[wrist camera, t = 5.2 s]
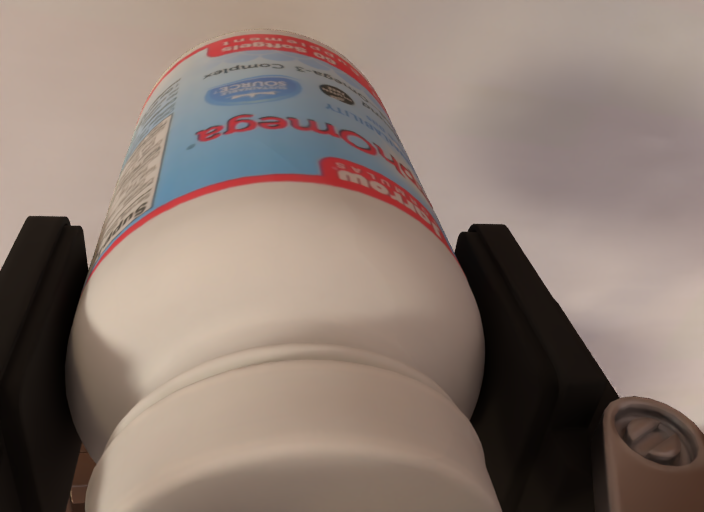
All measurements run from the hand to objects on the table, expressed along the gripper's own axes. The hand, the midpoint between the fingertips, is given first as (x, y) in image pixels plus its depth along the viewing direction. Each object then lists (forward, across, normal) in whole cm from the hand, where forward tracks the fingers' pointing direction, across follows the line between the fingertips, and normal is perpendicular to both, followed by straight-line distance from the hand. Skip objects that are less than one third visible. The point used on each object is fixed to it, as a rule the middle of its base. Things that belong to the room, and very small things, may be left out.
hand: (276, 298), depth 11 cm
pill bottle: (+6, 0, 0) cm, 6 cm away
